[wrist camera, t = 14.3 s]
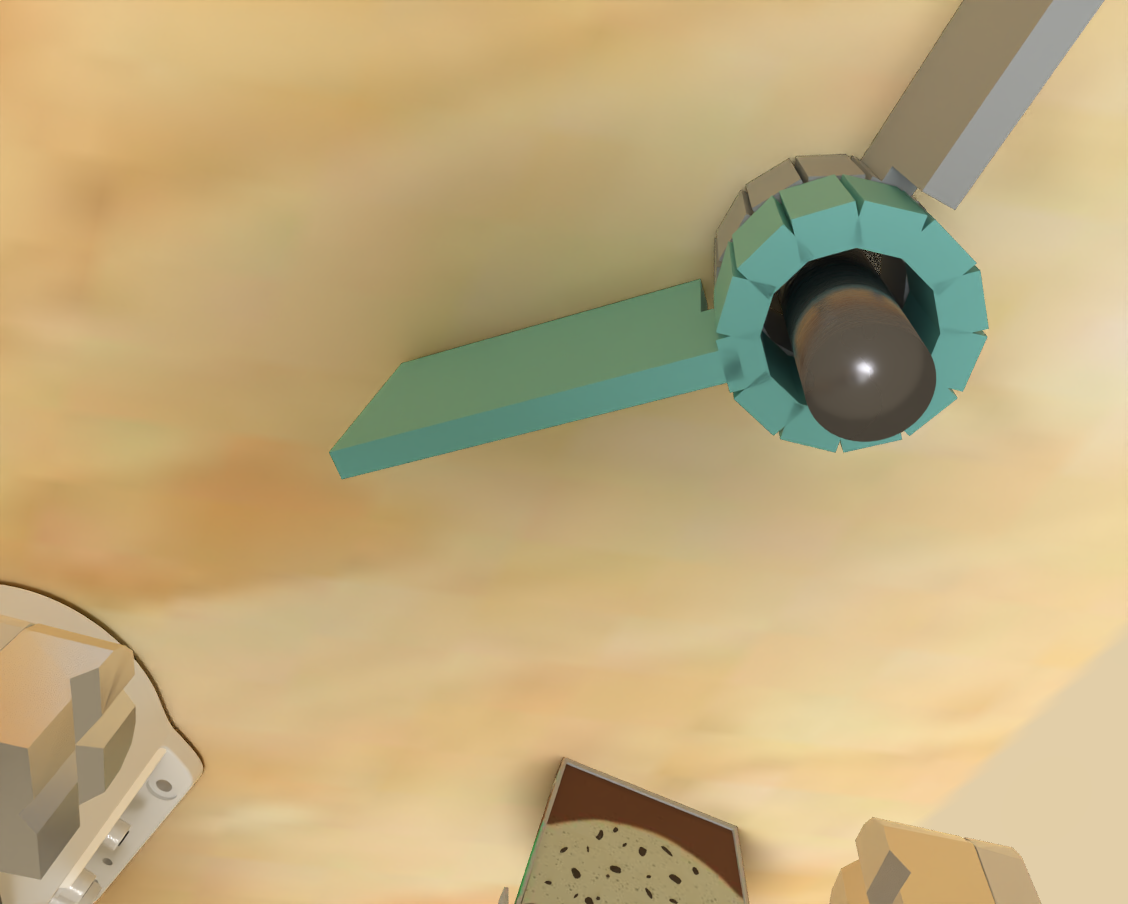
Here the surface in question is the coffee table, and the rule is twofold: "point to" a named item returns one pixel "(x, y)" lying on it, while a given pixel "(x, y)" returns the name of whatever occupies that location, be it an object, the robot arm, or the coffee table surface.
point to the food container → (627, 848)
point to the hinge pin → (855, 349)
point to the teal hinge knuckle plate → (684, 338)
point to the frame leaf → (939, 118)
